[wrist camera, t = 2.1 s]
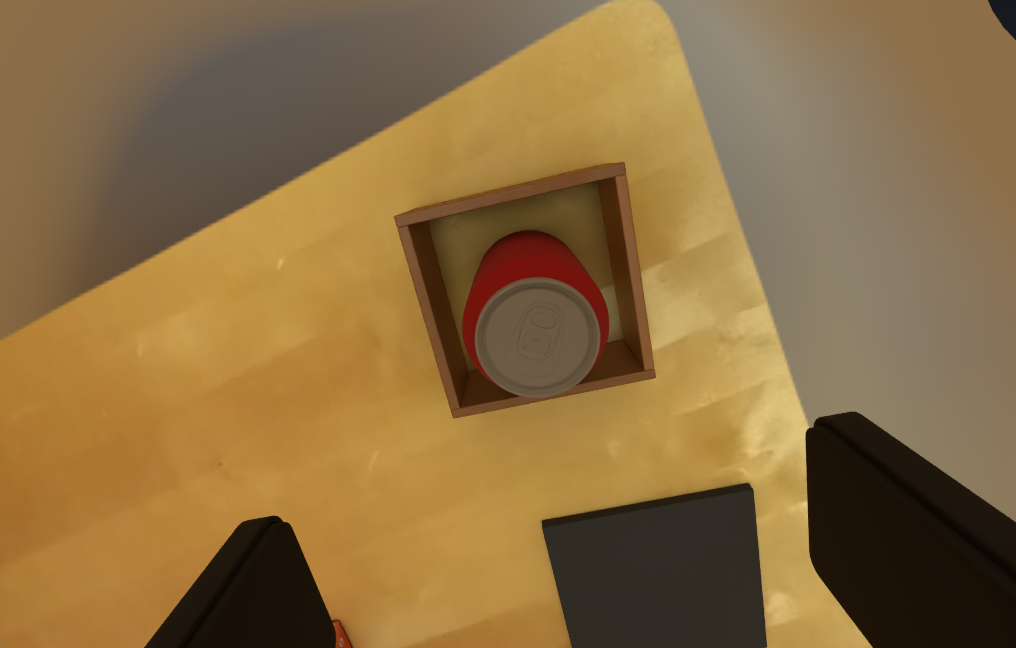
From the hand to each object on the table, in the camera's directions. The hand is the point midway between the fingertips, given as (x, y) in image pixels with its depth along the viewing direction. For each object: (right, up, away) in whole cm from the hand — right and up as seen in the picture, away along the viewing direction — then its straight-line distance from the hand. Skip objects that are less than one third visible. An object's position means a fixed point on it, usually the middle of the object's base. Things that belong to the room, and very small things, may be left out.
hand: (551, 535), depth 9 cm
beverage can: (+1, +7, +23) cm, 24 cm away
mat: (+11, -17, +31) cm, 37 cm away
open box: (+1, +7, +23) cm, 24 cm away
